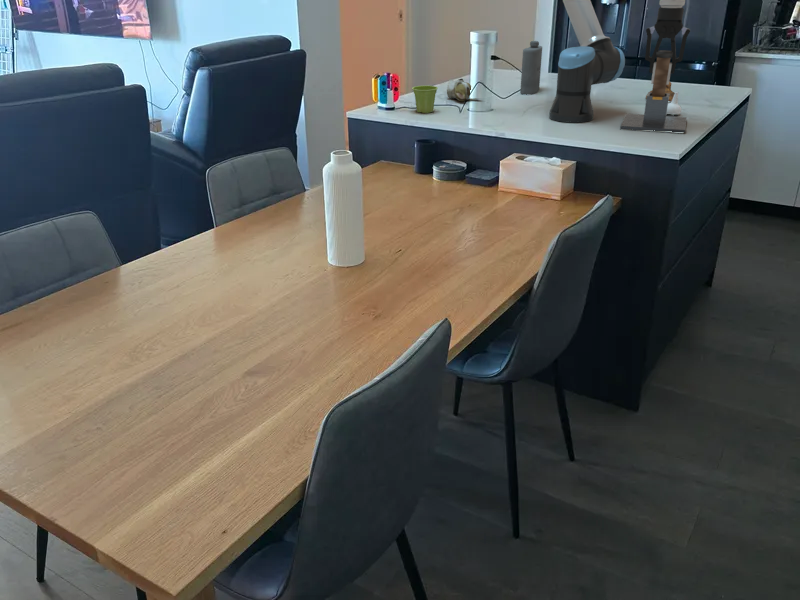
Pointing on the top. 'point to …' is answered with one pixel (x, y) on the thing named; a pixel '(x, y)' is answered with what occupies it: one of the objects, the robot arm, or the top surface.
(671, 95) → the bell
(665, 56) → the post
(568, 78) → the robot arm
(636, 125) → the sleeve stand
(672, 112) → the garlic bulb
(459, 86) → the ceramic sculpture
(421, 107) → the plant pot
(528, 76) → the flask
